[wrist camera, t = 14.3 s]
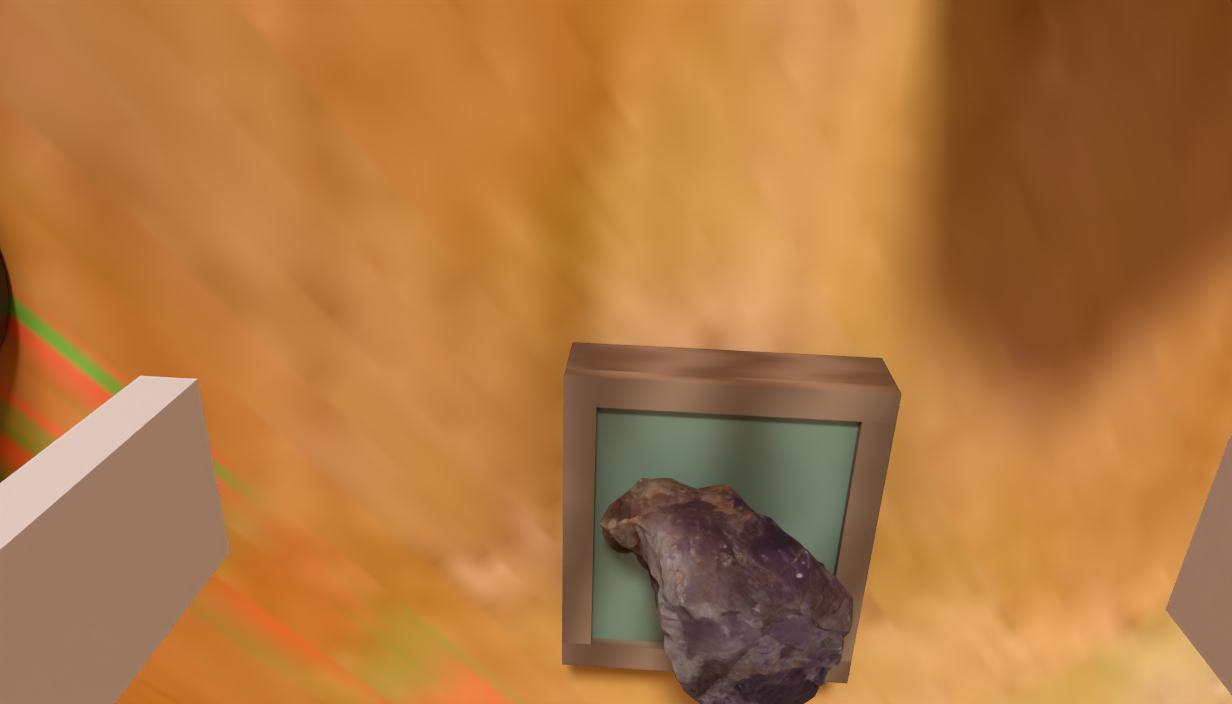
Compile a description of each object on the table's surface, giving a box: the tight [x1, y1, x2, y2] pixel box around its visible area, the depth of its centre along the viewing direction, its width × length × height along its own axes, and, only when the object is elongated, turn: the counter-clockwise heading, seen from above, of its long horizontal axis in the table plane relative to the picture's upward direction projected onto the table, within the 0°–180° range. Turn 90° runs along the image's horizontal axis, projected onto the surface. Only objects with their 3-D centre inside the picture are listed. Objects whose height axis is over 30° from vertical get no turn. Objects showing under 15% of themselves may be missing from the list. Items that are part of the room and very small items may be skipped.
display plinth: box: [562, 342, 901, 683], centre depth 43 cm, size 15×17×4 cm
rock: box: [599, 478, 853, 704], centre depth 38 cm, size 12×9×10 cm
